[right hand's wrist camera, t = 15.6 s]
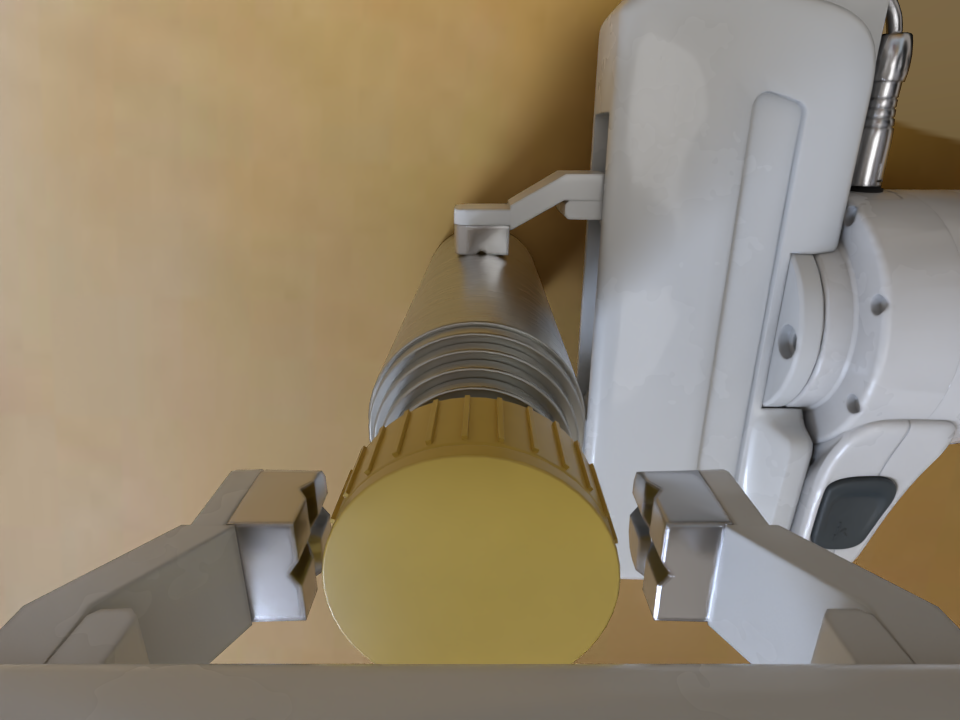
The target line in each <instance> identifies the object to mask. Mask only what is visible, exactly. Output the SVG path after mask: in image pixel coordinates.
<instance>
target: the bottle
mask: <svg viewBox="0 0 960 720" xmlns="http://www.w3.org/2000/svg"><path fill="white" fill-rule="evenodd" d="M465 395H470V397H481V398H491V399H497V397H499V398H502V400H504V401H507V402H511V403H514V404H518V405H521V406H523V407H526V408H527V407H528V406H530V407H532V408H533V411H535V412H537V413H539V414H541V415H542V416H544V417H546V418H548V419H549V420H551V421H552V422H554V421H557V422H558V423H559V425H560V428H561V429H563V430H564V431H565V432H566V433H567V434H568V435H569V436H570V437H571V438H572V439H573V440H574V441H576V440H578V442H579V443H580V445H581V449H582V447H583V442H584V431H585V407H584V402H583V397H582V393H581V390H580V388H579V385H578V382H577V379H576V377H575V374H574V371H573V368H572V366H571V363H570V360H569V357H568V355H567V352H566V349H565V347H564V344H563V341H562V338H561V336H560V333H559V330H558V327H557V325H556V322H555V319H554V317H553V314H552V311H551V308H550V306H549V303H548V300H547V297H546V295H545V292H544V289H543V287H542V284H541V281H540V278H539V276H538V273H537V270H536V267H535V265H534V262H533V259H532V257H531V255H530V253H529V252H528V250H527V249H526V247H525V246H524V245H523V244H522V243H521V242H520V241H519V240H518V239H517V238H515V237H514V236H513V235H511V234H509V252H508V255H489V254H486V253H485V252H483V251H482V250H481V251H480V252H478V253H477V254H473V255H461V254H456V253H455V236H454V234H453V235H451V236H450V237H449V238H447V239H446V240H445V241H444V242H443V243H442V244H441V245H440V246H439V248H438V249H437V250H436V252H435V254H434V255H433V257H432V259H431V262H430V264H429V266H428V268H427V270H426V273H425V275H424V277H423V279H422V281H421V284H420V286H419V288H418V290H417V292H416V295H415V297H414V299H413V301H412V303H411V306H410V308H409V310H408V312H407V315H406V317H405V319H404V321H403V323H402V326H401V328H400V330H399V332H398V334H397V337H396V339H395V341H394V343H393V345H392V348H391V350H390V352H389V354H388V356H387V359H386V361H385V363H384V365H383V367H382V370H381V372H380V374H379V376H378V378H377V381H376V383H375V386H374V388H373V391H372V395H371V399H370V405H369V439H370V443H371V442H372V440H373V439H374V438H375V437H376V436H377V435H378V432H379V430H380V428H381V427H382V426H385V427H387V426H388V425H389V424H390V423H392V422H393V421H395V420H396V419H398V418H399V417H401V416H402V415H403V414H404V411H406V410H408V409H409V411H412V410H414V409H416V408H419V407H422V406H425V405H427V404H430V403H433V400H436V399H438V400H439V401H442V400H447V399H453V398H464V397H465Z"/></svg>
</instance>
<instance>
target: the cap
mask: <svg viewBox="0 0 960 720" xmlns="http://www.w3.org/2000/svg"><path fill="white" fill-rule="evenodd" d="M330 523H333V526H332V529H331V531H330V534H329V536H328V539H327V542H326V544H325V550H324V554H323V562H322V580H323V589H324V593H325V597H326V601H327V604H328V607H329V609H330V612H331V614H332V616H333V618H334V620H335V622H336V623H337V625H338V627H339V628H340V630H341V632H342V633H343V634H344V635H345V637H346V638H347V639H348V640H349V642H350V643H351V644H352V645H353V646H354V647H355V648H356V649H357V650H358V651H359V652H360V653H361V654H362V655H363V656H365V657H366V658H367V659H369V660H370V661H371V662H373V663H374V664H572V663H573V662H575V661H576V660H577V659H578V658H579V657H580V656H582V655H583V654H584V653H585V652H586V651H587V650H588V649H589V648H590V647H591V646H592V645H593V644H594V643H595V642H596V640H597V639H598V638H599V636H600V635H601V633H602V632H603V631H604V629H605V628H606V626H607V624H608V622H609V620H610V618H611V616H612V614H613V611H614V608H615V605H616V602H617V599H618V594H619V587H620V562H619V557H618V551H617V547H616V544H617V543H618V539H617V536H616V533H615V530H614V527H613V523H612V520H611V517H610V513H609V510H608V507H607V504H606V501H605V498H604V495H603V492H602V489H601V486H600V482H599V479H598V476H597V473H596V470H595V467H594V465H593V463H591V464H589V463H588V461H587V459H586V457H585V455H584V454H583V452H582V449H581V445H580V443H579V442H578V440H576V441H574V440H573V439H572V438H571V437H570V436H569V435H568V434H567V433H566V432H565V431H564V430H563V429H561V428H560V425H559V423H558V422H557V421H554V422H552V421H551V420H549V419H548V418H546V417H544V416H542V415H541V414H539V413H537V412H535V411H533V408H532V407H530V406H528V407H527V408H526V407H523V406H521V405H518V404H514V403H511V402H507V401H504V400H502V398H499V397H497V399H491V398H481V397H470V395H465V397H464V398H453V399H447V400H442V401H439V400H438V399H436V400H433V403H430V404H427V405H425V406H422V407H419V408H416V409H414V410H412V411H409V409H408V410H406V411H404V414H403V415H402V416H401V417H399V418H398V419H396V420H395V421H393V422H392V423H390V424H389V425H388V426H387V427H385V426H382V427H381V428H380V430H379V432H378V435H377V436H376V437H375V438H374V439H373V440H372V442H371V443H370V444H369V445H368V446H367V447H365V446H363V448H362V449H361V452H360V454H359V457H358V459H357V462H356V464H355V467H354V469H353V470H351V471H350V473H349V475H348V478H347V480H346V483H345V485H344V488H343V490H342V493H341V495H340V497H339V500H338V502H337V505H336V507H335V510H334V512H333V515H332V517H331V520H330Z"/></svg>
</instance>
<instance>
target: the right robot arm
mask: <svg viewBox="0 0 960 720" xmlns="http://www.w3.org/2000/svg"><path fill="white" fill-rule="evenodd" d="M327 493H328V492H327V485H326V478H325V475H324V473H323V472H322V471H306V470H263V469H250V470H234V471H231V472H230V473H229V475H228V476H227V477H226V479H225V480H224V481H223V483H222V484H221V485H220V487H219V488H218V489H217V491H216V492H215V493H214V495H213V496H212V497H211V499H210V500H209V501H208V503H207V504H206V505H205V507H204V508H203V509H202V511H201V512H200V513H199V514H198V516H197V517H196V518H195V520H194V521H193V522H192V524H191V525H180V526H178V527H176V528H175V529H173V530H171V531H169V532H167V533H165V534H163V535H161V536H159V537H157V538H155V539H153V540H151V541H149V542H147V543H145V544H143V545H141V546H139V547H137V548H135V549H134V550H132V551H130V552H128V553H126V554H124V555H122V556H120V557H118V558H116V559H114V560H112V561H110V562H108V563H106V564H104V565H102V566H100V567H98V568H96V569H94V570H93V571H91V572H89V573H87V574H85V575H83V576H81V577H79V578H77V579H75V580H73V581H71V582H69V583H67V584H65V585H63V586H61V587H59V588H57V589H55V590H53V591H52V592H50V593H48V594H46V595H44V596H42V597H40V598H38V599H36V600H34V601H32V602H30V603H28V604H26V605H24V606H23V607H22V608H21V609H20V610H19V611H18V612H17V613H16V614H15V615H14V616H13V617H12V618H11V619H10V620H9V621H8V622H7V623H6V624H5V625H4V626H3V627H2V628H1V629H0V720H960V629H959V628H958V627H957V626H956V625H955V624H954V623H953V622H952V621H951V620H950V619H949V618H948V617H947V616H946V615H945V614H944V613H943V612H942V610H941V609H940V608H939V607H937V606H935V605H933V604H931V603H929V602H927V601H925V600H924V599H922V598H920V597H918V596H916V595H914V594H912V593H910V592H908V591H906V590H904V589H902V588H900V587H898V586H896V585H894V584H892V583H890V582H889V581H887V580H885V579H883V578H881V577H879V576H877V575H875V574H873V573H871V572H869V571H867V570H865V569H863V568H861V567H859V566H857V565H855V564H854V563H852V562H850V561H848V560H846V559H844V558H842V557H840V556H838V555H836V554H834V553H832V552H830V551H828V550H826V549H824V548H822V547H820V546H818V545H817V544H815V543H813V542H811V541H809V540H807V539H805V538H803V537H801V536H799V535H797V534H795V533H793V532H791V531H789V530H787V529H785V528H783V527H782V526H780V525H769V524H768V523H767V521H766V520H765V519H764V517H763V516H762V515H761V513H760V512H759V511H758V509H757V508H756V507H755V505H754V504H753V503H752V501H751V500H750V499H749V498H748V496H747V495H746V494H745V492H744V491H743V490H742V488H741V487H740V486H739V484H738V483H737V482H736V480H735V479H734V478H733V476H732V475H731V474H730V472H728V471H726V470H724V469H712V470H682V471H642V472H636V475H635V478H634V483H633V491H632V493H633V496H634V498H635V501H636V503H637V506H638V507H637V508H636V509H635V510H634V511H633V512H632V513H631V514H630V520H629V548H630V553H631V557H632V561H633V564H634V567H635V570H636V571H638V572H639V573H640V574H642V575H643V576H644V581H643V592H644V595H645V598H646V600H647V603H648V606H649V608H650V611H651V614H652V616H653V619H654V620H660V621H697V622H708V625H709V626H710V627H711V628H712V629H713V630H715V631H716V632H717V633H718V634H719V635H720V636H721V637H722V638H723V639H724V640H726V641H727V642H728V643H729V644H730V645H731V646H732V647H733V648H734V649H736V650H737V651H738V652H739V653H740V654H741V655H742V656H743V657H744V658H745V659H747V660H748V661H749V662H750V663H751V664H209V663H210V662H211V661H213V660H214V659H215V658H216V657H217V656H218V655H219V654H220V653H221V652H222V651H224V650H225V649H226V648H227V647H228V646H229V645H230V644H231V643H232V642H234V641H235V640H236V639H237V638H238V637H239V636H240V635H241V634H242V633H243V632H245V631H246V630H247V629H248V628H249V627H250V626H251V625H252V622H263V621H298V620H306V619H307V617H308V614H309V611H310V608H311V606H312V603H313V600H314V597H315V595H316V592H317V581H316V576H317V575H318V574H320V573H321V572H322V562H323V554H324V550H325V544H326V542H327V539H328V536H329V534H330V531H331V523H330V520H331V519H330V514H329V513H328V512H327V511H326V510H325V509H324V508H323V507H322V505H323V503H324V501H325V498H326V496H327Z"/></svg>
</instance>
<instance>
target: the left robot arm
mask: <svg viewBox="0 0 960 720" xmlns="http://www.w3.org/2000/svg"><path fill="white" fill-rule="evenodd" d="M885 21H886V34H882V32H883V28H884V23H885ZM902 31H903V20H902V12H901V9H900V5H899V3H898V0H622V1H621V2H620V3H619V4H618V5H617V7H616V8H615V9H614V10H613V11H612V12H611V14H610V15H609V16H608V17H607V18H606V19H605V21H604V23H603V24H602V26H601V29H600V34H599V45H598V60H597V75H596V90H595V105H594V120H593V135H592V150H591V166H590V170H557V171H555V172H554V173H552V174H550V175H549V176H547V177H545V178H544V179H542V180H540V181H539V182H537V183H535V184H534V185H532V186H530V187H529V188H527V189H525V190H523V191H522V192H520V193H518V194H517V195H515V196H513V197H512V198H510V199H508V203H507V204H459V205H455V207H454V236H455V253H456V254H461V255H473V254H477V253H478V252H480V251H481V250H482V251H483V252H485V253H486V254H489V255H508V252H509V228H510V230H512V229H514V228H516V227H518V226H519V225H521V224H523V223H525V222H526V221H528V220H530V219H532V218H534V217H535V216H537V215H539V214H541V213H543V212H544V211H546V210H548V209H550V208H551V207H553V206H555V205H557V209H558V210H559V212H561V213H562V214H563V215H564V216H565V217H566V218H567V219H576V220H587V226H586V241H585V256H584V271H583V287H582V302H581V317H580V332H579V347H578V362H577V377H576V379H577V382H578V385H579V388H580V390H581V393H582V397H583V402H584V407H585V431H584V442H583V447H582V452H583V454H584V455H585V457H586V459H587V461H588V463H589V464H591V463H593V465H594V467H595V470H596V473H597V476H598V479H599V482H600V486H601V489H602V492H603V495H604V498H605V501H606V504H607V507H608V510H609V513H610V517H611V520H612V523H613V527H614V530H615V533H616V536H617V539H618V543H617V544H616V547H617V551H618V557H619V562H620V579H644V576H643V575H642V574H640V573H639V572H638V571H636V570H635V567H634V564H633V561H632V557H631V553H630V548H629V520H630V514H631V513H632V512H633V511H634V510H635V509H636V508H637V507H638V506H637V503H636V501H635V498H634V496H633V493H632V491H633V483H634V478H635V475H636V472H642V471H682V470H712V469H724V470H726V471H728V472H730V474H731V475H732V476H733V478H734V479H735V480H736V482H737V483H738V484H739V486H740V487H741V488H742V490H743V491H744V492H745V494H746V495H747V496H748V498H749V499H750V500H751V501H752V503H753V504H754V505H755V507H756V508H757V509H758V511H759V512H760V513H761V515H762V516H763V517H764V519H765V520H766V521H767V523H768V524H769V525H780V526H782V527H783V528H785V529H787V530H789V531H791V532H793V533H795V534H797V535H799V536H801V537H803V538H805V539H807V540H809V541H811V542H813V543H815V544H817V545H818V546H820V547H822V548H824V549H826V550H828V551H830V552H832V553H834V554H836V555H838V556H840V557H842V558H844V559H846V560H848V561H850V562H853V561H854V560H855V559H856V558H857V557H858V555H859V554H860V553H861V551H862V550H863V549H864V547H865V546H866V544H867V543H868V541H869V540H870V538H871V537H872V536H873V534H874V533H875V531H876V530H877V528H878V527H879V526H880V524H881V523H882V521H883V520H884V519H885V517H886V516H887V515H888V513H889V512H890V511H891V509H892V508H893V507H894V505H895V504H896V503H897V501H898V500H899V499H900V498H901V497H902V495H903V494H904V493H905V492H906V490H907V489H908V488H909V487H910V486H911V485H912V484H913V483H914V481H915V480H916V479H917V478H918V477H919V476H920V475H921V474H922V473H923V472H924V471H925V470H926V469H927V468H928V467H929V466H930V465H931V464H932V463H933V462H934V461H935V460H936V459H937V458H938V457H939V456H940V455H941V454H942V453H943V452H944V450H945V449H946V448H947V447H948V445H949V444H956V443H960V190H890V189H883V188H881V185H882V181H883V177H884V172H885V168H886V164H887V160H888V156H889V151H890V147H891V143H892V137H893V131H894V128H892V127H893V126H894V122H895V119H894V117H895V113H896V110H895V107H896V106H897V101H898V100H897V98H898V97H899V93H900V89H901V85H902V82H905V80H906V77H907V74H908V71H909V67H910V63H911V58H912V50H913V35H912V34H911V33H908V32H902Z"/></svg>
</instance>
